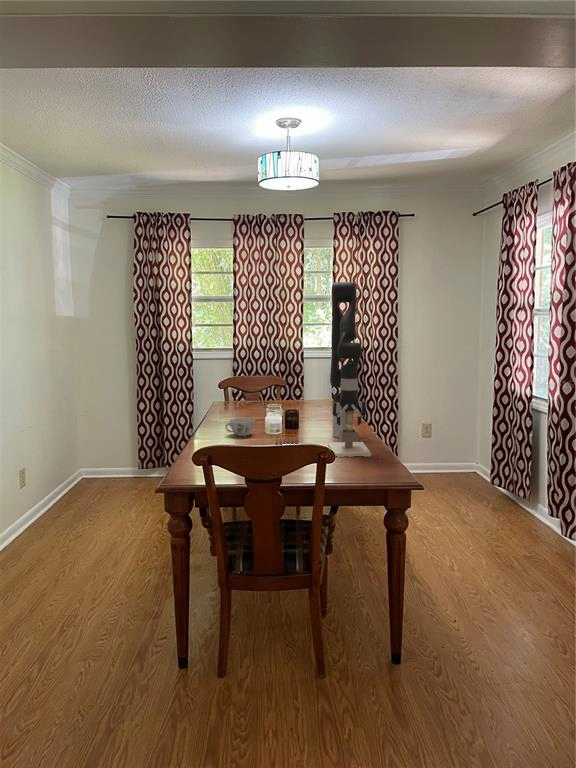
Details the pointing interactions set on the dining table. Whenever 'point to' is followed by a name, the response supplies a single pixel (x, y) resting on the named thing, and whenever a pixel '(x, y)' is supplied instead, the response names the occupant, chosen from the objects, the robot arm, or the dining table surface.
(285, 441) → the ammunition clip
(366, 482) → the dining table surface
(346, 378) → the robot arm
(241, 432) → the teacup
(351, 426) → the rail post
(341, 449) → the cup bracket
